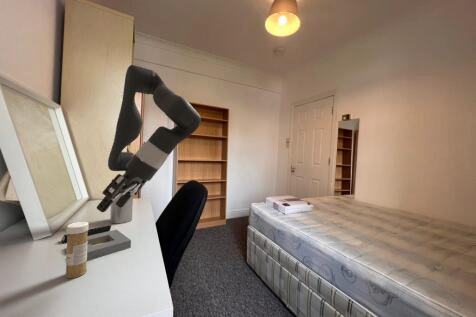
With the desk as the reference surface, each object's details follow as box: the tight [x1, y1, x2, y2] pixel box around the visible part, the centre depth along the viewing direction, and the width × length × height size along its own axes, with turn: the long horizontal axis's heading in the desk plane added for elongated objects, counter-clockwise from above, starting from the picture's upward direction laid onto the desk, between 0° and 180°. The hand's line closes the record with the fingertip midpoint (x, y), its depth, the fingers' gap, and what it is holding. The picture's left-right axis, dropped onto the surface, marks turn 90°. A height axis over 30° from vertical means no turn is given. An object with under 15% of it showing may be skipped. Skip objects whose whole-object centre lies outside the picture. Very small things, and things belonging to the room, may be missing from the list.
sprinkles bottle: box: [64, 221, 89, 279], centre depth 53 cm, size 5×5×14 cm
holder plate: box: [86, 229, 132, 262], centre depth 68 cm, size 14×14×2 cm
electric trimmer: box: [60, 224, 112, 245], centre depth 77 cm, size 4×16×3 cm, turn 141°
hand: (110, 207), depth 54 cm, fingers open, 8 cm apart
